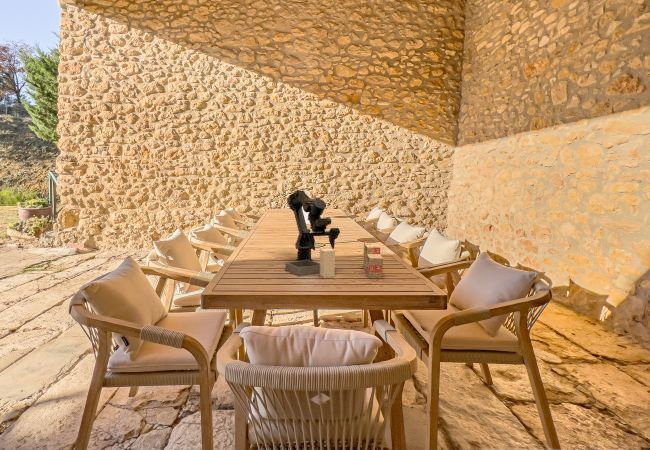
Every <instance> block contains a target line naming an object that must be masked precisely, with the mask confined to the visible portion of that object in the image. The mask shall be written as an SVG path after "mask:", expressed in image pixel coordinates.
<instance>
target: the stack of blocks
mask: <svg viewBox="0 0 650 450" xmlns="http://www.w3.org/2000/svg"><path fill="white" fill-rule="evenodd" d="M362 264H363V268H364V269H363V270H364V271H365V273H366V276H367V277H368V279H382V278H383V270H384V269H383V268H384V267H383V266H384V257H383V256H382V255H381V246H379V244H378V243H377V242H363V263H362Z"/></svg>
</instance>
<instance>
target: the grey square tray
mask: <svg viewBox="0 0 650 450" xmlns="http://www.w3.org/2000/svg"><path fill="white" fill-rule="evenodd" d="M284 264H285V271H287V272H289V273H292V274H294V275H295V276H296V275H297V276H298V277H303V276H309V275H313V274H315V275H316V274H320V262H319V263H318V262H316V261H314V260H312V261H311V260H308V259H307V260H300V261H299V260H296V261H295V260H294V261H290V262H289V261H288V262H285V263H284Z"/></svg>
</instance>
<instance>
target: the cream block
mask: <svg viewBox="0 0 650 450" xmlns="http://www.w3.org/2000/svg"><path fill="white" fill-rule="evenodd" d="M335 256H336V251H335V249H332V247H331V248H320V249H319V264H320V273H319V276H321V278H323V279H326V278H329V279H330V278H335V270H336V269H335V267H336V266H335V262H336V261H335V260H336V257H335Z"/></svg>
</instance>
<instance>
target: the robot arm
mask: <svg viewBox="0 0 650 450" xmlns="http://www.w3.org/2000/svg"><path fill="white" fill-rule="evenodd" d="M286 201H287V205H288V206H289V209H290V210H291V211H293V214H294V219H295V221H296V226H297V231H298V236H297V239H296V241H295V249H296V250H297V253H296V254H297V255H296V256H297V257H296V259H295V260H296V261H300V260H307V259H308V260H311V261H314V259H312V250H313V251H315V250H316V247H315V242H316V239H315V238H314V237H326V236H327V237H328V242H329V244H330V247H331V249H333V250H335V244H336V243H335V240H336V239H338V236H339V235H340V233H341V231H340V228H338V227H330V229H329V231H326V230H327V226H329V225H331V224H332V218H331V217H330V216H328V217H327V216H326V217H321V216H322V215H323V213H324V211H325V209H326V207H327V203H326V202H325V201H324V200H323V199H321V197H315V199H314V198H310V196H309V195H307V193H306V191H305V190H295V191H294V192H293V193H290V195H289V196H288V198H287V200H286ZM303 211H304V212H303ZM304 213H308V214H307V221H309V224H310V225H309V226H310V227H309V228H308V226H307V225H308V224H307V223H306V219H305V215H304Z"/></svg>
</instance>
